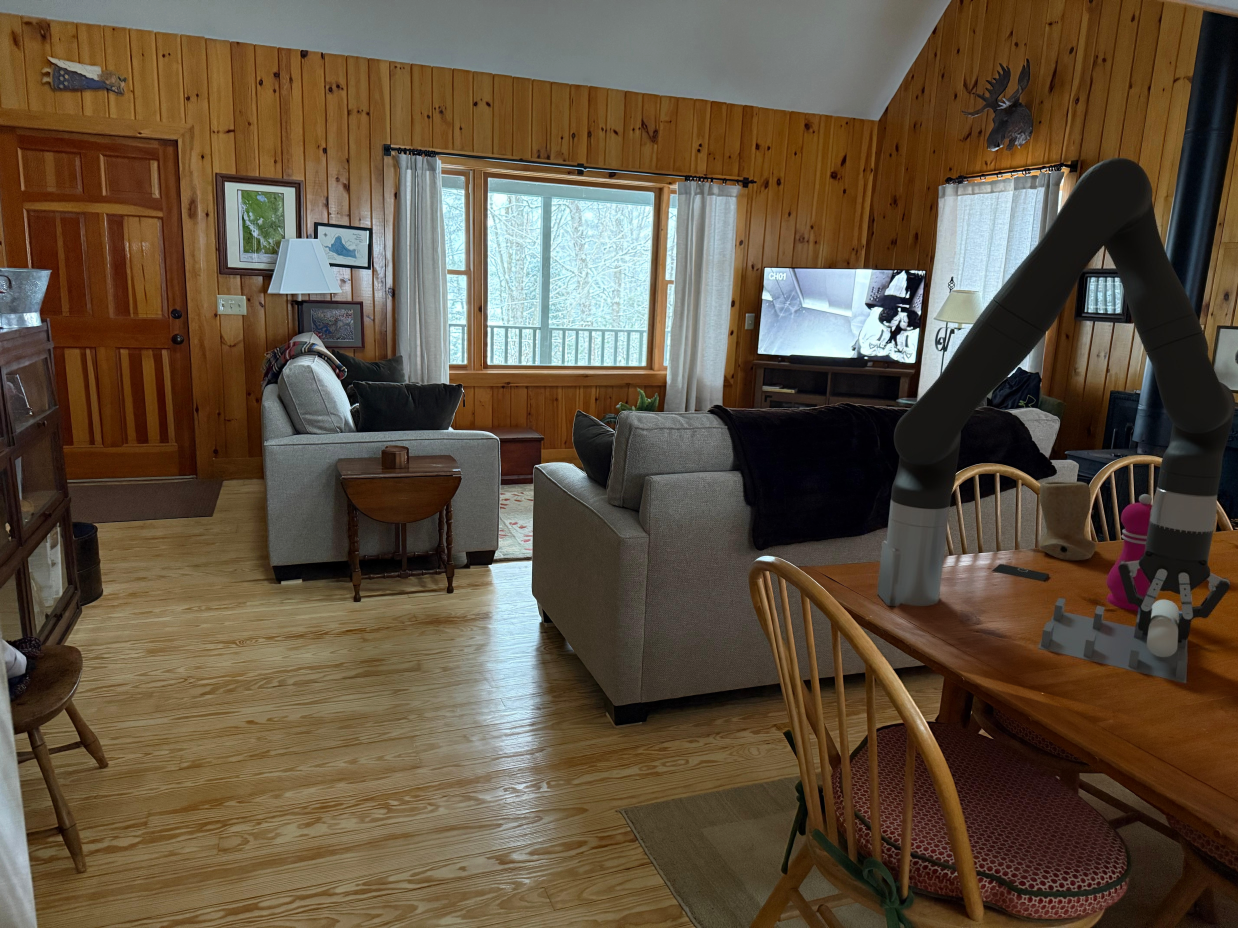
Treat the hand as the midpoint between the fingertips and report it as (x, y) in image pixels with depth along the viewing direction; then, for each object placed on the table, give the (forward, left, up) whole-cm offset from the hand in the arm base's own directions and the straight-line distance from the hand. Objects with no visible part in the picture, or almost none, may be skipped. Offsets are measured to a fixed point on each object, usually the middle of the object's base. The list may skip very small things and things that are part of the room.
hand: (1162, 636), depth 120 cm
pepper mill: (+8, +21, -4) cm, 22 cm away
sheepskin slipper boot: (+14, +54, -4) cm, 56 cm away
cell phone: (-6, +33, -4) cm, 33 cm away
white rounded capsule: (0, 0, 0) cm, 0 cm away
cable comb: (-5, +3, -3) cm, 7 cm away
